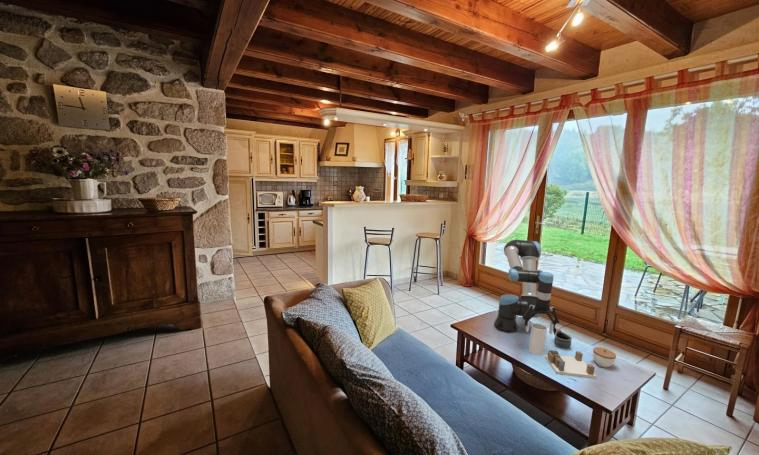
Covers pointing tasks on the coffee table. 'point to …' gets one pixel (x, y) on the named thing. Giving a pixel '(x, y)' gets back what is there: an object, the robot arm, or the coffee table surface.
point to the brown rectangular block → (556, 358)
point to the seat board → (572, 366)
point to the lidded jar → (603, 357)
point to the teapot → (562, 338)
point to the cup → (537, 339)
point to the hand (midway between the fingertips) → (538, 332)
